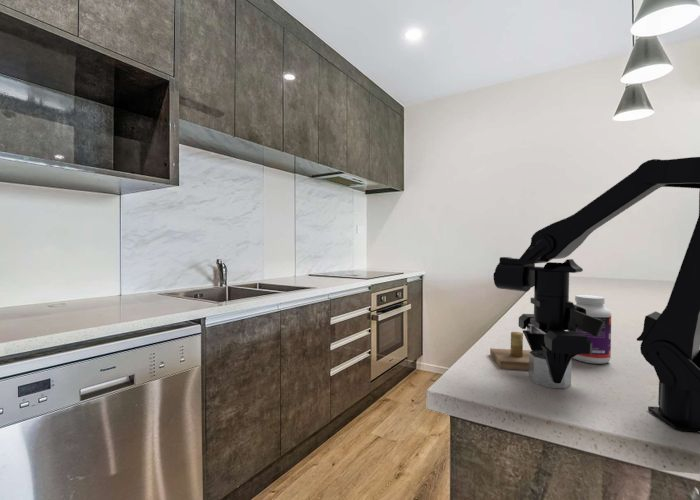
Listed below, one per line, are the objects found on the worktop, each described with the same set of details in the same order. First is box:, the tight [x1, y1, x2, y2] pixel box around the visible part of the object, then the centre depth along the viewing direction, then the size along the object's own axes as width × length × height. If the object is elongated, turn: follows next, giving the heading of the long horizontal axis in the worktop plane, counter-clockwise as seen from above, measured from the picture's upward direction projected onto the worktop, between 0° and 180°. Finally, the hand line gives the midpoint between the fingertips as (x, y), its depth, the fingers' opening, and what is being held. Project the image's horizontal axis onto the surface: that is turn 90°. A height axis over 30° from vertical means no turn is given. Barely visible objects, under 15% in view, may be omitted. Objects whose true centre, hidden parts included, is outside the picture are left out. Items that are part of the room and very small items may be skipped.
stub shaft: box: [489, 331, 532, 371], centre depth 78 cm, size 9×9×6 cm
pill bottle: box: [572, 294, 612, 365], centre depth 80 cm, size 8×8×14 cm
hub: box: [528, 350, 572, 390], centre depth 67 cm, size 6×6×5 cm
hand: (549, 375), depth 67 cm, fingers closed on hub, 6 cm apart
